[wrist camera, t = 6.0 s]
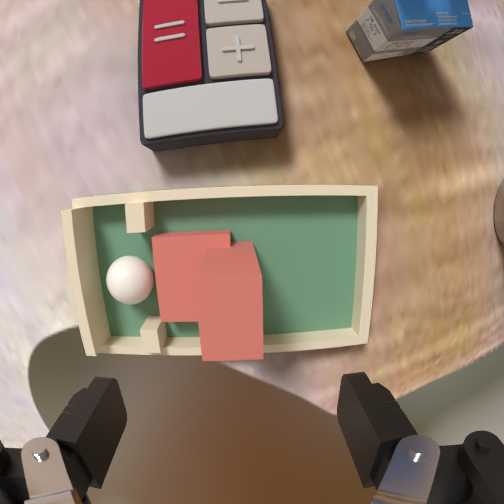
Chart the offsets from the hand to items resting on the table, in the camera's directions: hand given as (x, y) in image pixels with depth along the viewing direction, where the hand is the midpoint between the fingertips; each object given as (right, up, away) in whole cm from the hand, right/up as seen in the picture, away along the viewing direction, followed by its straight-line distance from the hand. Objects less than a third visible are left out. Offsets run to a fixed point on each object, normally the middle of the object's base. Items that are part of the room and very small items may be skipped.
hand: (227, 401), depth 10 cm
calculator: (-3, +22, +14) cm, 26 cm away
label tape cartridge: (+14, +26, +14) cm, 33 cm away
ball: (-9, +3, +15) cm, 17 cm away
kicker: (-3, +4, +16) cm, 17 cm away
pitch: (-1, +4, +18) cm, 18 cm away
